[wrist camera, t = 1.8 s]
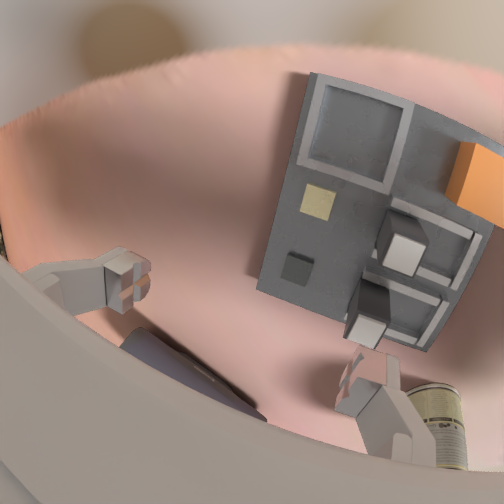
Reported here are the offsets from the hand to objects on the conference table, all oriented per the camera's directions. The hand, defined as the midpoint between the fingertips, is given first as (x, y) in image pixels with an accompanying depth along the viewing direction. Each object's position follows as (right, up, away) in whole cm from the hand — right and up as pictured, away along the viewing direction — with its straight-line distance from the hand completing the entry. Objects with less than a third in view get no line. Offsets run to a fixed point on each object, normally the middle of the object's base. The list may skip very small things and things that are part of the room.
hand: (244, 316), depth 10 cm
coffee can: (+24, -19, +21) cm, 37 cm away
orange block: (+19, +8, +9) cm, 23 cm away
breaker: (+11, -2, +17) cm, 20 cm away
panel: (+13, +5, +16) cm, 21 cm away
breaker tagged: (+13, +4, +14) cm, 19 cm away
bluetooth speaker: (-7, -17, +34) cm, 38 cm away
